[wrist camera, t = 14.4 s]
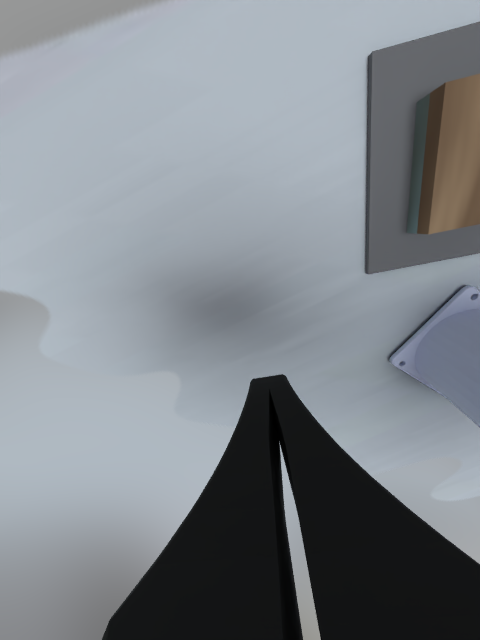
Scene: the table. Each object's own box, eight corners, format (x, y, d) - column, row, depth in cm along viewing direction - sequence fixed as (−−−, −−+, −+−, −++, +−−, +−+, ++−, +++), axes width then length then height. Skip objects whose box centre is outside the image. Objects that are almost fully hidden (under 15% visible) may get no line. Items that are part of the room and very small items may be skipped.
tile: (416, 102, 13) (514, 77, 12) (406, 232, 16) (486, 216, 15) (445, 82, 11) (561, 52, 11) (428, 234, 14) (519, 215, 13)
